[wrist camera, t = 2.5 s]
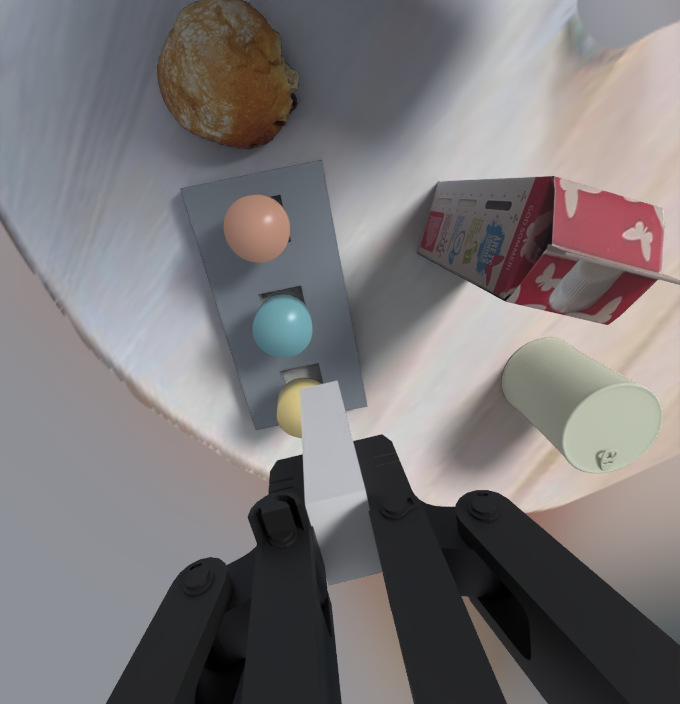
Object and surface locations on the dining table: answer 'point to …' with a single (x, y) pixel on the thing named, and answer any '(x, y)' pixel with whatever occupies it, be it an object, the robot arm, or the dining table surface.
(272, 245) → the terracotta button
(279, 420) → the mustard button
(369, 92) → the dining table surface
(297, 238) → the button board
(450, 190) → the juice carton
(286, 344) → the teal button
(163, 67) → the bread roll
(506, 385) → the can
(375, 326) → the dining table surface
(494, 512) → the robot arm
